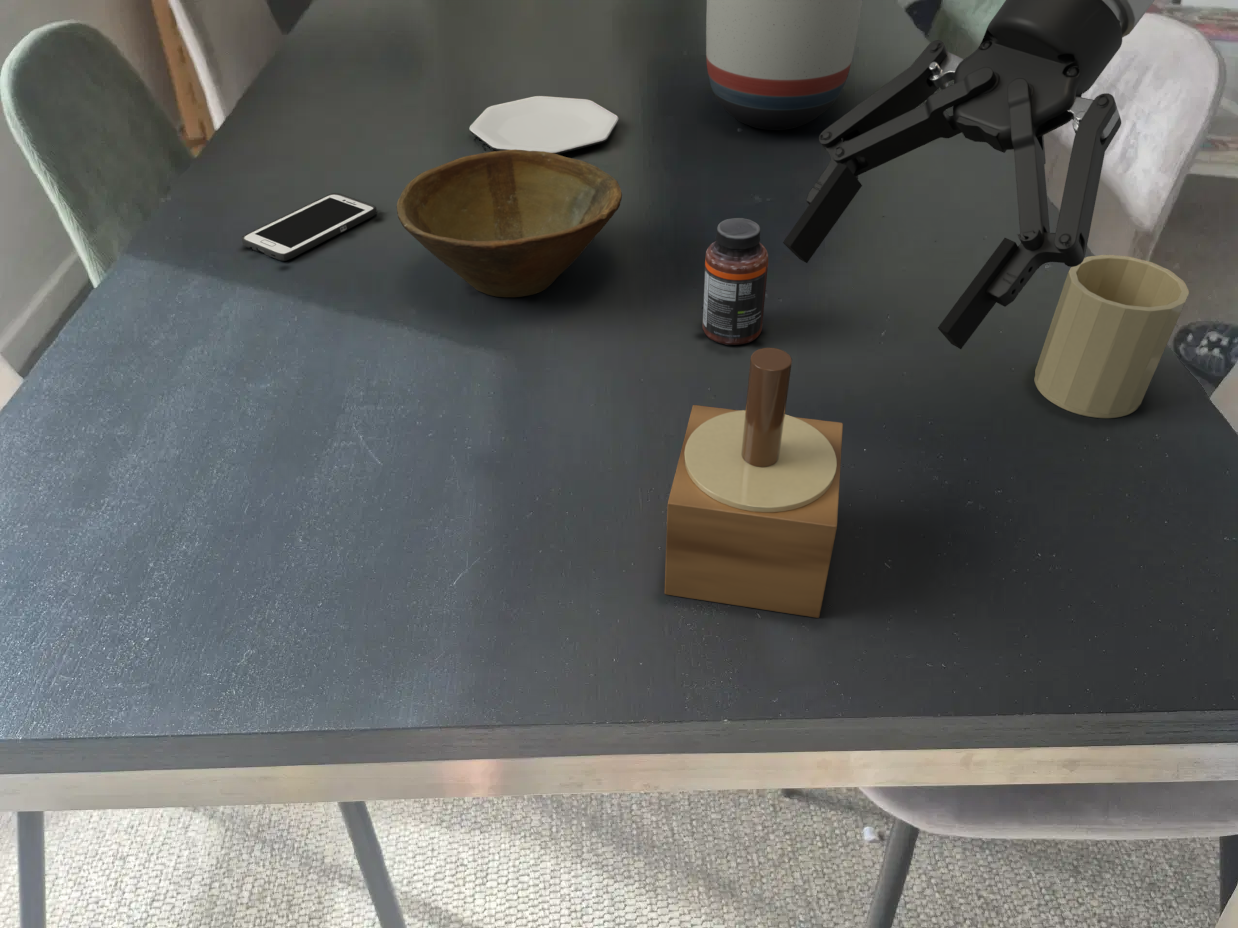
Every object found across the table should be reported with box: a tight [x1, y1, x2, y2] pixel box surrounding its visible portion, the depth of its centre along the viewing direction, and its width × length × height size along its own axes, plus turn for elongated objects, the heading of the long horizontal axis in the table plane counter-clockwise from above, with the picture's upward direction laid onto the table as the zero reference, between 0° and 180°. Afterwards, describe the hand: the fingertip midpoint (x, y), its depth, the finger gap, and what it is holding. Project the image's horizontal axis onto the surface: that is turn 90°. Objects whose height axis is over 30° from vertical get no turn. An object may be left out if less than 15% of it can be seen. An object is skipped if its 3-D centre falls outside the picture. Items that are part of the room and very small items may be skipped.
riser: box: [664, 404, 844, 619], centre depth 68 cm, size 11×11×9 cm
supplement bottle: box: [701, 217, 769, 346], centre depth 91 cm, size 6×6×11 cm
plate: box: [469, 95, 620, 155], centre depth 133 cm, size 20×20×2 cm
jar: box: [1033, 254, 1190, 419], centre depth 83 cm, size 9×9×11 cm
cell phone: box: [241, 192, 378, 262], centre depth 111 cm, size 8×15×1 cm, turn 145°
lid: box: [684, 347, 837, 512], centre depth 63 cm, size 10×10×8 cm
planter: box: [705, 0, 864, 131], centre depth 129 cm, size 20×20×21 cm
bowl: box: [395, 149, 623, 298], centre depth 100 cm, size 22×23×10 cm
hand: (866, 293), depth 63 cm, fingers open, 13 cm apart
